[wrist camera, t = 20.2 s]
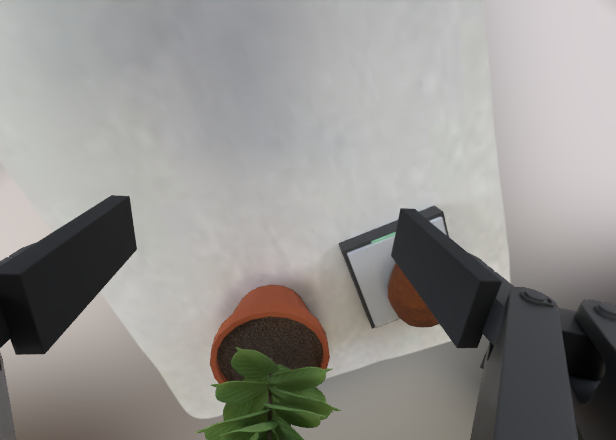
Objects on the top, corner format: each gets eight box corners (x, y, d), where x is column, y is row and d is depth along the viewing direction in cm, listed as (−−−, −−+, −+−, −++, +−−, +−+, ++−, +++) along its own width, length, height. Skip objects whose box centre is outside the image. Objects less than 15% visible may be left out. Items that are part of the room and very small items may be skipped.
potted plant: (342, 317, 47) (438, 630, 19) (262, 366, 49) (245, 715, 21) (284, 247, 42) (302, 537, 14) (198, 305, 44) (64, 661, 16)
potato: (386, 316, 44) (408, 359, 37) (370, 248, 40) (391, 281, 32) (437, 300, 44) (470, 341, 37) (426, 230, 40) (461, 260, 32)
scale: (338, 243, 42) (342, 253, 40) (434, 205, 42) (445, 212, 39) (367, 318, 48) (373, 331, 45) (453, 285, 47) (464, 297, 44)
